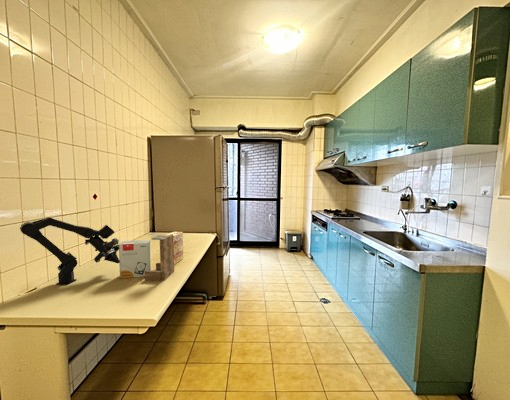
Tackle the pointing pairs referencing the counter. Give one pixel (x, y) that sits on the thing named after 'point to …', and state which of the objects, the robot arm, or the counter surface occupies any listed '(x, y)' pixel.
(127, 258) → the hard drive box
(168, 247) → the bracket
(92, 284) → the counter surface
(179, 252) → the coffeecake box
